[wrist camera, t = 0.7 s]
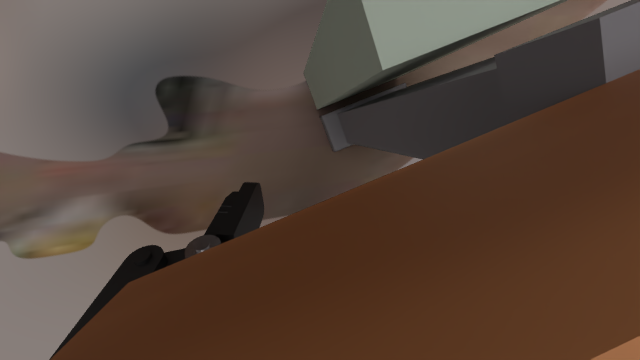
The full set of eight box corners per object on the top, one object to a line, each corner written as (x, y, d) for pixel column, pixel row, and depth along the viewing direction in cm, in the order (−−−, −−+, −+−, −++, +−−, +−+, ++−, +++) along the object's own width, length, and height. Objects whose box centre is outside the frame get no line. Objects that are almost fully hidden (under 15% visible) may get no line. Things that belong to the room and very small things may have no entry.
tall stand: (319, 116, 35) (599, 18, 4) (398, 85, 36) (1192, -221, 4) (332, 150, 36) (626, 284, 5) (408, 119, 37) (1093, 66, 6)
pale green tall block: (303, 73, 34) (345, -55, 10) (386, 41, 34) (602, -148, 11) (317, 109, 35) (382, 70, 11) (396, 78, 35) (613, -21, 12)
